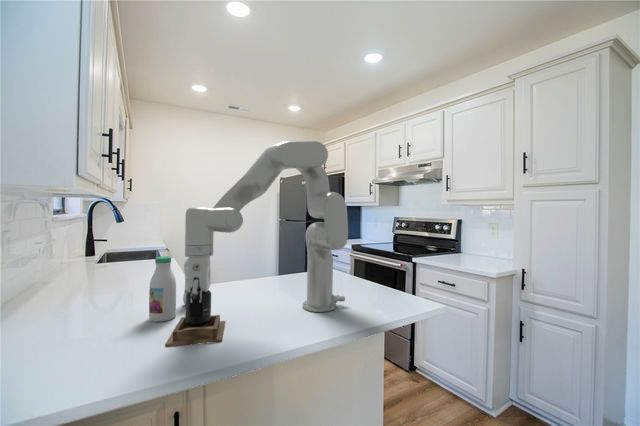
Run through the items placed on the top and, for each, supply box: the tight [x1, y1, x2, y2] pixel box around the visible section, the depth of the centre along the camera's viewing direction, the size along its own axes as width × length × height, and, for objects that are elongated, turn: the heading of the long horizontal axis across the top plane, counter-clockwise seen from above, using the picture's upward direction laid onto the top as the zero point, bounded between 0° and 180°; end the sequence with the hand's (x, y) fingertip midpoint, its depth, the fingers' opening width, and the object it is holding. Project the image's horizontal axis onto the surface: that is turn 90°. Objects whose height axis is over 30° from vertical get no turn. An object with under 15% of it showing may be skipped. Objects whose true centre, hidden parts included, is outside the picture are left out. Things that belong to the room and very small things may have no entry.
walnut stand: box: [164, 314, 226, 348], centre depth 85 cm, size 14×14×3 cm
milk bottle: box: [148, 255, 177, 323], centre depth 97 cm, size 8×8×20 cm
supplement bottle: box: [184, 288, 212, 327], centre depth 85 cm, size 7×7×12 cm
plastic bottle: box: [182, 257, 189, 306], centre depth 111 cm, size 6×7×20 cm
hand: (198, 311), depth 85 cm, fingers closed on supplement bottle, 6 cm apart
